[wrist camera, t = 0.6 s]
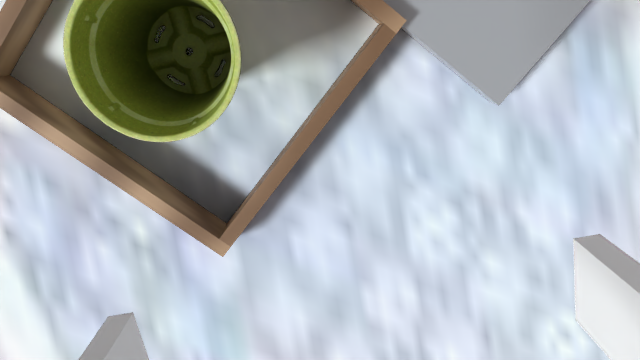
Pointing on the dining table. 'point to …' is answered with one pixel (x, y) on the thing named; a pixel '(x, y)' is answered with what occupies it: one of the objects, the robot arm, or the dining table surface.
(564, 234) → the dining table surface
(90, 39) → the plant pot
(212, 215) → the frame
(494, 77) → the stone coaster
